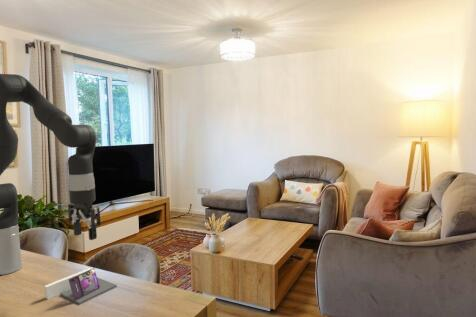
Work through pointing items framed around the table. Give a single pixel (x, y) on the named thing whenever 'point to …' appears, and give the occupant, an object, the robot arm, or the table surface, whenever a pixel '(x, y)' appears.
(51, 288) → the low wall
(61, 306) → the table surface
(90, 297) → the rubber mat
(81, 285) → the purple framed toy figure
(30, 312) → the table surface
